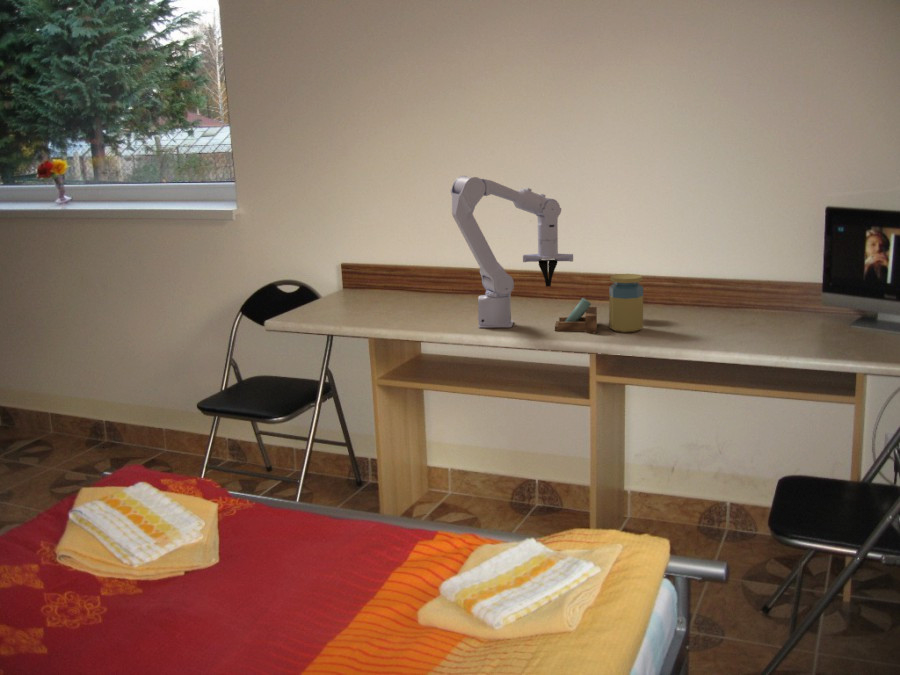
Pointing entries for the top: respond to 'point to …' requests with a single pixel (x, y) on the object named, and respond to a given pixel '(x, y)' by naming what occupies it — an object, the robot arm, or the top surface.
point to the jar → (626, 303)
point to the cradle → (580, 322)
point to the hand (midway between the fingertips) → (548, 286)
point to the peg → (579, 311)
